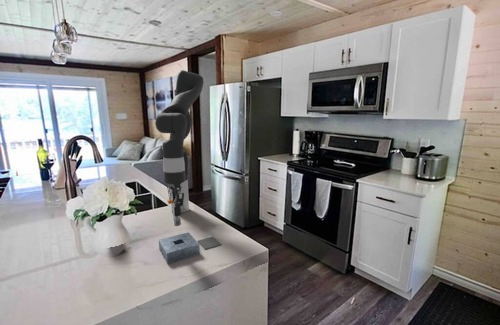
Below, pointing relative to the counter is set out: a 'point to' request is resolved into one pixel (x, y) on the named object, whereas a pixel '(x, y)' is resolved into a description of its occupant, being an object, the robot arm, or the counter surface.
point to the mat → (209, 242)
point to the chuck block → (178, 247)
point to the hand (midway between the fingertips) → (176, 214)
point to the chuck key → (176, 219)
